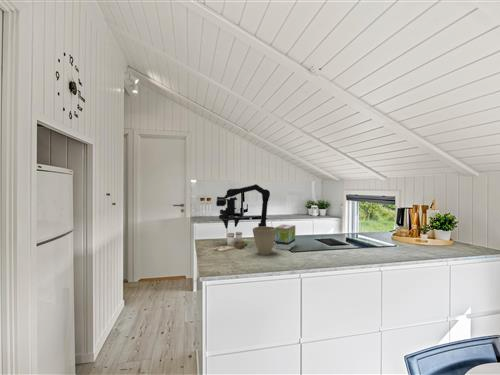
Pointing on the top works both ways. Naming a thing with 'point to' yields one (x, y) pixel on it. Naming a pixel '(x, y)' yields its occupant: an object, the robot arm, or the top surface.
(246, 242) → the lime
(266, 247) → the plant pot
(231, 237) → the jar
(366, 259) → the top surface
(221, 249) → the board
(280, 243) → the tea box
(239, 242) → the token
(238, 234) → the jar
